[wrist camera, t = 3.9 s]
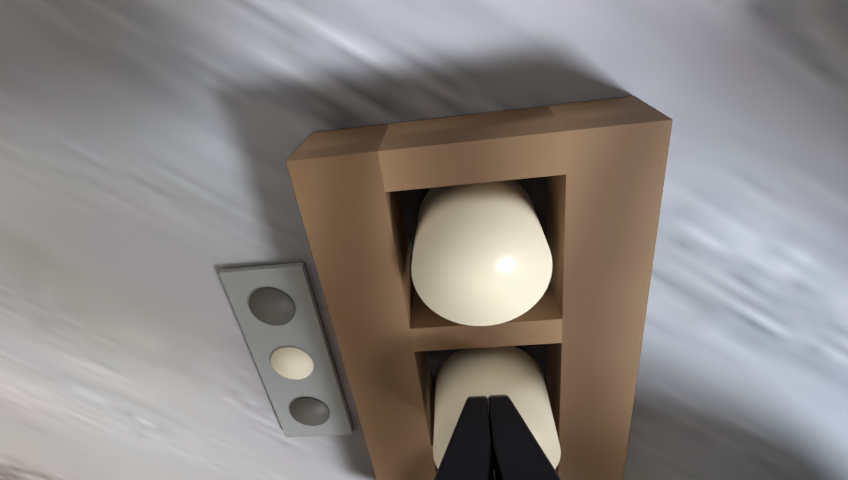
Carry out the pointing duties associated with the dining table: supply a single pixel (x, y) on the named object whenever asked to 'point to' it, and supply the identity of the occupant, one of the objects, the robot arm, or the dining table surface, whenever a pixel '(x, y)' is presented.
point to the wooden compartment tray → (542, 324)
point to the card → (289, 347)
